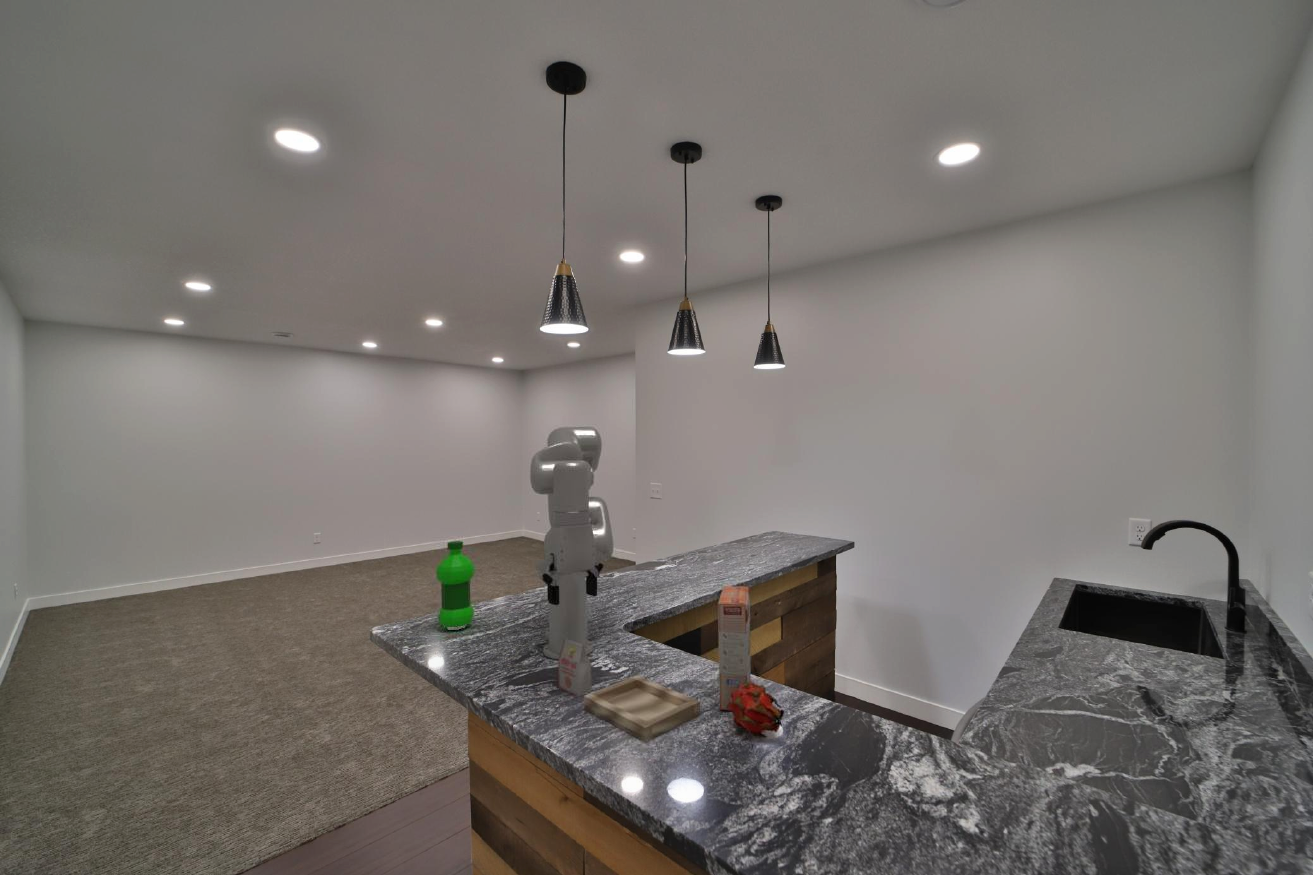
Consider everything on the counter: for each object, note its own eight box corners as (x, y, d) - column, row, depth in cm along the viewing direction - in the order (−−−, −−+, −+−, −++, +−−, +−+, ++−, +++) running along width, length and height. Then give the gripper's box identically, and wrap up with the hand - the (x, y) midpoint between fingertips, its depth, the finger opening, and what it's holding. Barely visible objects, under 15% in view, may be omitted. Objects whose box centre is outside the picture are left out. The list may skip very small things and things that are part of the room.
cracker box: (750, 713, 106) (747, 603, 107) (718, 711, 107) (715, 602, 108) (752, 683, 120) (750, 585, 120) (724, 681, 121) (722, 584, 122)
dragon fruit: (735, 721, 106) (779, 760, 96) (708, 706, 102) (751, 744, 92) (757, 681, 108) (803, 714, 98) (731, 664, 104) (777, 697, 94)
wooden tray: (584, 708, 110) (584, 696, 110) (637, 687, 119) (637, 675, 119) (645, 742, 96) (645, 727, 96) (700, 714, 106) (699, 701, 106)
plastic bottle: (465, 620, 170) (464, 538, 170) (480, 628, 162) (479, 542, 163) (432, 628, 163) (431, 542, 164) (446, 636, 155) (445, 546, 156)
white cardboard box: (572, 682, 123) (571, 636, 123) (591, 691, 118) (590, 643, 118) (558, 687, 120) (557, 640, 120) (577, 696, 115) (576, 648, 115)
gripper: (593, 514, 128) (595, 589, 128) (526, 521, 116) (528, 604, 116) (614, 516, 123) (615, 594, 122) (546, 524, 111) (547, 611, 110)
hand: (573, 599), depth 119 cm, fingers open, 9 cm apart
